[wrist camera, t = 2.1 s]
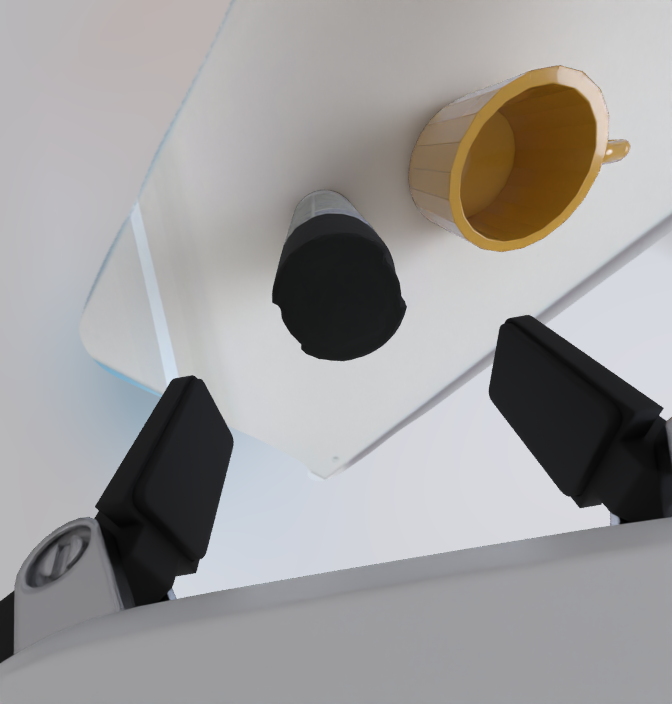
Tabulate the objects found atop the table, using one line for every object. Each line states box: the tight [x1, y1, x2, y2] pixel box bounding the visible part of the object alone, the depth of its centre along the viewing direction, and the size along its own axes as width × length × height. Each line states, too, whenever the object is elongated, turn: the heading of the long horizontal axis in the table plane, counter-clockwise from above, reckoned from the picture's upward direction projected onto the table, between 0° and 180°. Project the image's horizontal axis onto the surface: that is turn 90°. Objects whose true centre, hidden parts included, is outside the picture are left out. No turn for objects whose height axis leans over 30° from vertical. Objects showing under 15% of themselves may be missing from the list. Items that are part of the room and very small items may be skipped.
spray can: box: [272, 190, 407, 361], centre depth 22 cm, size 7×7×20 cm
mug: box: [409, 65, 630, 252], centre depth 24 cm, size 14×11×10 cm
